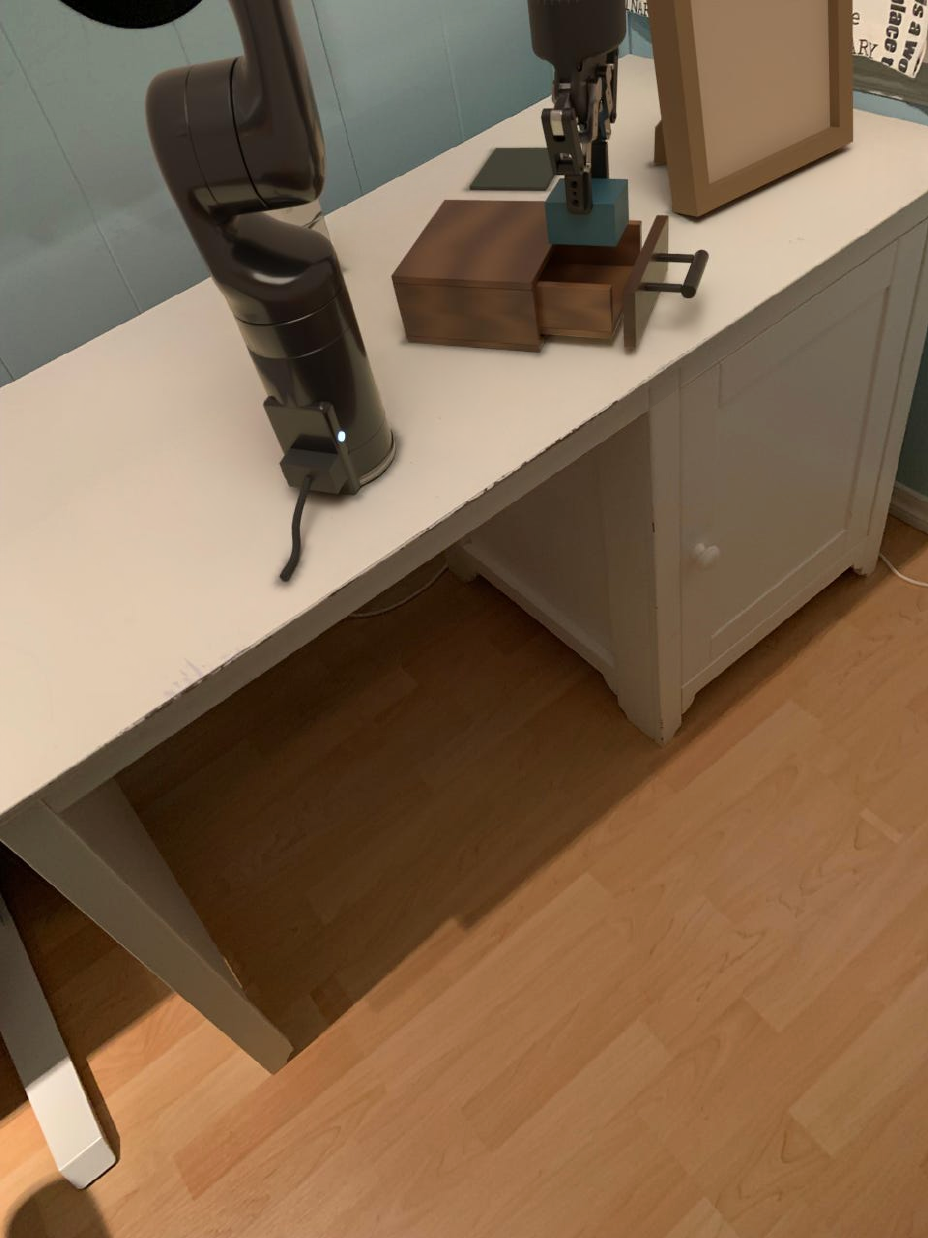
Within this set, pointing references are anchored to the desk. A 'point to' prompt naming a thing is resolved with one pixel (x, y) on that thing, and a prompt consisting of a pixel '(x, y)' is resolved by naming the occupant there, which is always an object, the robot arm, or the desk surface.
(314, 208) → the ink box
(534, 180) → the mat
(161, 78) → the robot arm
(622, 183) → the card box
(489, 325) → the cabinet
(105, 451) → the desk surface
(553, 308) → the drawer
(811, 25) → the photo frame
